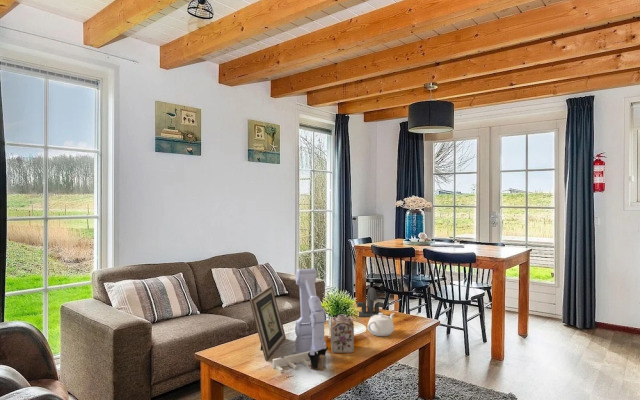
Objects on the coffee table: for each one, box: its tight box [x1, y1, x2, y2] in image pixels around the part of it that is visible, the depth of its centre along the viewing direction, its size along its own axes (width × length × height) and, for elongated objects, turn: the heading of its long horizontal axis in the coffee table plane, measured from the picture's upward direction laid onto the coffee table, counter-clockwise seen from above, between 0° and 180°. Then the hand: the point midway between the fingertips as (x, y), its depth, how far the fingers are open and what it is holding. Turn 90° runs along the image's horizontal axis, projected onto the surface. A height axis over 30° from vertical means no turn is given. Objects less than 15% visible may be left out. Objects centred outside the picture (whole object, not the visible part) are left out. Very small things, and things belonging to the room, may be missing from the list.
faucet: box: [356, 287, 385, 318], centre depth 286 cm, size 18×16×20 cm
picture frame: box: [249, 285, 287, 361], centre depth 227 cm, size 33×10×30 cm, turn 168°
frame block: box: [310, 354, 327, 372], centre depth 201 cm, size 6×4×6 cm, turn 67°
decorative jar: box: [329, 313, 355, 354], centre depth 226 cm, size 12×12×18 cm
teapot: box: [366, 312, 395, 337], centre depth 253 cm, size 25×16×12 cm, turn 135°
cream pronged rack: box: [271, 351, 318, 374], centre depth 205 cm, size 8×24×5 cm, turn 122°
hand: (318, 365), depth 201 cm, fingers open, 7 cm apart
